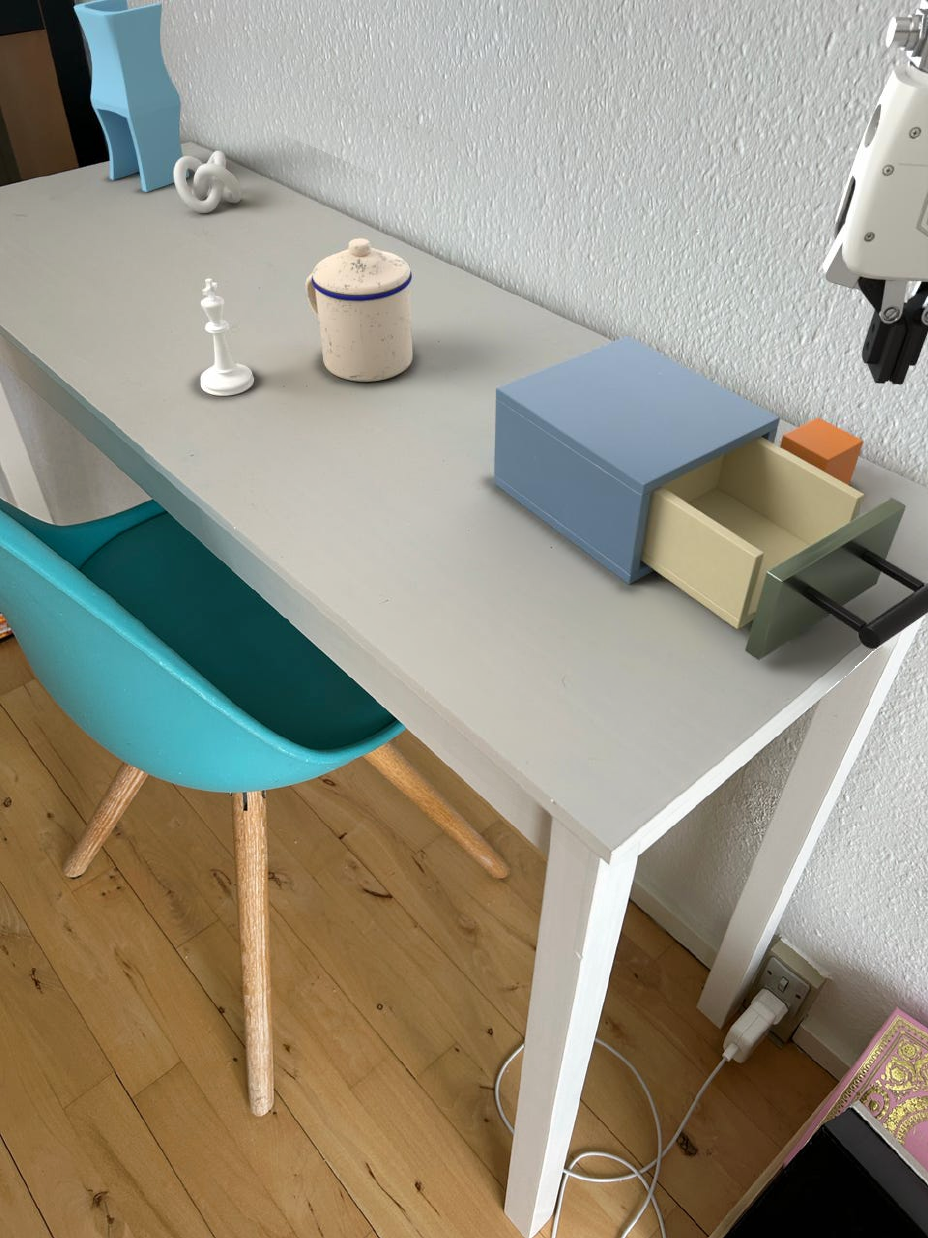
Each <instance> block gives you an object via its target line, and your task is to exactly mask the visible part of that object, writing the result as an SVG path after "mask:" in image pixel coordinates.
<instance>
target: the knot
mask: <svg viewBox="0 0 928 1238" xmlns="http://www.w3.org/2000/svg"><path fill="white" fill-rule="evenodd" d="M226 167H227V159H226V154H225V153H224V152H223V151H221V150H215V151H214V152H213V153H212V154H211V155H210V157H209V158H208V161H206V163H204V162H202V161H201V160H200V159H198V158H196V157H193V156H191V155H185V156H184V155H183V157H181V158H180V159H179V160H178V161H177V162H176V164H175V167H174V185H175V189H176V191H177V193H178V195H179V197H180V199H181V200H182V202H184V204H185V205H186V206H187V207H188V208H189V209H191V210H192V211H194V212H196V213H199V214H208V213H211V212H212V211H214V210H215V209H216V208H217V207H218V205H219V203H220V202H221V200H223V201H225V202H227V203H230V204H238V203H239V202H241V201H242V199H243V189H242V186H241V184H240V182H239V181H238V179H237V178H236V176H234V174H233V173H231V171H229V170H228V169H227V168H226ZM187 170H192V171H193V172H195V173H194V175H193V180H192V188H191V189H192V190H191V189H190V187H189V185H188V182H187V178H186V171H187ZM209 189H210V191H209ZM208 192H209V193H208ZM207 194H208V196H207ZM206 196H207V197H206Z"/></svg>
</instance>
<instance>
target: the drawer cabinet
mask: <svg viewBox="0 0 928 1238" xmlns="http://www.w3.org/2000/svg"><path fill="white" fill-rule="evenodd" d="M494 413H495V414H494V415H495V419H494V456H493V457H494V458H493V459H494V460H493V484H494V485H495V486H497V488H498V489H500V490H502V491H503V492H504V493H506V494H507V495H508V496H510V497H511V498H513V500H514V501H516V502H518V503H519V504H520V505H522V506H523V507H525V508H526V509H527V510H528V511H529V512H531V513H533V514H534V515H535V516H536V517H538V518H539V519H541V520H542V521H543V522H545V523H546V524H547V525H548V526H550V527H552V529H554V530H555V531H556V532H558V533H559V534H561V535H562V536H563V537H565V538H566V539H567V540H569V541H570V542H572V543H573V544H574V545H575V546H577V548H579V549H581V550H582V551H583V552H585V553H586V554H587V555H588V556H590V557H591V558H592V559H594V560H595V561H596V562H597V563H599V564H600V565H602V566H604V567H605V568H606V569H607V570H609V572H611V573H612V574H614V575H616V576H617V577H618V578H619V579H621V580H622V581H623V582H625V583H626V584H627V585H631V584H633V583H635V582H637V581H639V580H640V579H642V578H643V577H646V576H648V575H649V574H651V573H653V572H656V571H655V570H654V569H653V568H651V567H650V566H648V565H647V564H646V563H644V562H643V561H641V554H642V548H643V541H644V535H645V529H646V522H647V516H648V510H649V503H650V497H651V491H652V490H654V489H656V488H658V487H660V486H662V485H664V484H666V483H668V482H670V481H672V480H674V479H676V478H678V477H680V476H682V475H684V474H686V473H688V472H690V471H692V470H694V469H696V468H698V467H700V466H702V465H704V464H706V463H708V462H710V461H712V460H714V459H716V458H718V457H720V456H722V455H724V454H726V453H728V452H730V451H732V450H734V449H736V448H738V447H740V446H742V445H744V444H746V443H748V442H750V441H752V440H754V439H756V438H758V437H760V436H761V437H763V438H765V439H766V440H768V441H770V442H772V443H774V444H775V440H776V437H777V433H778V428H779V424H780V421H781V417H780V416H778V415H776V414H775V413H772V412H771V411H769V410H767V409H765V408H764V407H762V406H759V405H758V404H756V403H754V402H752V401H751V400H748V399H746V398H745V397H743V396H742V395H739V394H737V393H735V392H734V391H732V390H730V389H728V388H726V387H724V386H722V385H721V384H719V383H717V382H715V381H713V380H711V379H709V378H708V377H706V376H704V375H702V374H700V373H698V372H696V371H694V370H692V369H691V368H689V367H687V366H685V365H683V364H681V363H679V362H677V361H676V360H674V359H672V358H670V357H668V356H667V355H664V354H663V353H660V352H659V351H657V350H655V349H653V348H652V347H650V346H648V345H646V344H644V343H643V342H641V341H638V340H636V339H635V338H634V337H631V336H629V335H626V336H623V337H621V338H618V339H616V340H614V341H611V342H608V343H605V344H603V345H601V346H598V347H595V348H593V349H590V350H588V351H585V352H583V353H581V354H578V355H575V356H573V357H571V358H568V359H566V360H563V361H560V362H558V363H555V364H553V365H551V366H548V367H545V368H543V369H540V370H538V371H536V372H532V373H530V374H527V375H524V376H522V377H520V378H517V379H514V380H513V381H510V382H508V383H505V384H502V385H500V386H498V387H496V388H495V411H494Z"/></svg>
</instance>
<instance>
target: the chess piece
mask: <svg viewBox="0 0 928 1238" xmlns="http://www.w3.org/2000/svg"><path fill="white" fill-rule="evenodd" d="M204 283H205V287H204V288H203V289H202V290H201V291H202V295H203V296H206V297H204V298H203V299H202V300H201V302H200V305H201V307H202V309H203V310H204V313H205V314H206V316H207V318H208V320H209V321H208V322H207V323H205V327H204V329H205V330H204V331H206V332H207V333H210V334H212V338H213V352H214V364H213V365H212V366H210V367H208V368H207V369H205V371H203V372H202V373H201V376H200V386H201V387H200V388H201V389H202V390H203V391H204V392H205V393H207V394H209V395H213V396H218V397H219V396H220V397H225V396H226V397H228V396H233V395H238V394H241V393H244V392H245V391H247V390H249V389H250V388H251V387H252V386H253V385H254V383H255V377H254V375H253V372H252V370H251V369H250V368H249V367H248V366H246V365H244V364H242V363H237V362H236V361H233V358H232V354H231V352H230V348H229V346H228V342H227V339H226V336H225V335H226V334H225V332H227V331H228V330H229V329H230V324H229V322H228V321H226V320H224V319H223V315H224V313H223V312H224V307H225V300H224V299H223V298H222V297H221V296H218V295H215V291H216V290H218V288H219V287H218V282H213V279H212V278H205V280H204Z"/></svg>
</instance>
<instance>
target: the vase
mask: <svg viewBox="0 0 928 1238" xmlns="http://www.w3.org/2000/svg"><path fill="white" fill-rule="evenodd" d="M73 9H74V12H75V14H76V16H77V18H78V20H79V23H80V25H81V28H82V30H83V33H84V35H85V39H86V41H87V44H88V45H87V46H88V49H89V53H90V59H91V89H90V102H91V106H92V109H93V111H94V112H95V115H96V116H97V119H98V121H99V123H100V125H101V128H102V131H103V133H104V136H105V139H106V142H107V146H108V153H109V155H108V156H109V179H110V180H112V181H116V180H118V179H122V178H124V177H127V176H130V175H133V174H137V173H139V177H140V183H141V190H142V191H143V192H145V193H149V192H152V191H154V190H157V189H160V188H163V187H165V186H169V185H171V184H175V182H174V167H175V164H176V162H177V161H178V160H179V159H180V158H181V157H184V154H183V150H182V143H181V136H180V135H181V134H180V128H181V127H180V126H181V125H180V124H181V123H180V122H181V109H182V107H181V106H182V102H181V101H182V100H181V96H180V94H179V92H178V90H177V87H175V85H174V82H173V81H172V78H171V76H170V74H169V72H168V69H167V67H166V64H165V61H164V60H165V59H164V57H163V53H162V45H161V44H162V43H161V22H162V12H163V4H162V3H157V2H156V3H152V4H148V5H144V6H138V7H133V8H130V9H129V8H128V0H94V1H88V2H83V3H79V4H76V5H74V6H73ZM189 177H190V173H189V169H187V171H186V179H187V178H189Z"/></svg>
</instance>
